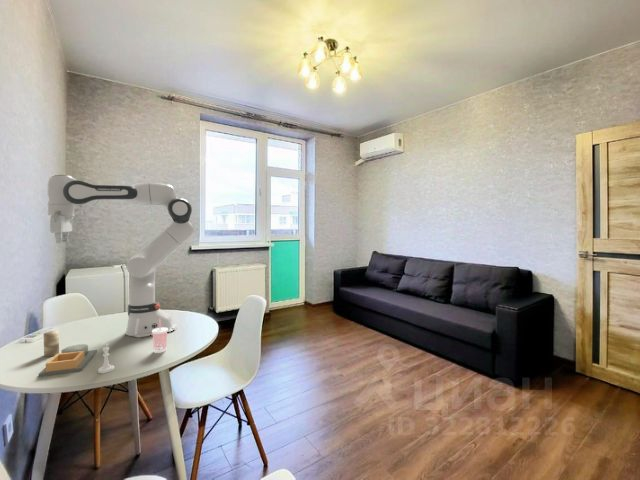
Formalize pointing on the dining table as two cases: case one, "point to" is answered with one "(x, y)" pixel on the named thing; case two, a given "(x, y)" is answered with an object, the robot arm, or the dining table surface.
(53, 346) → the wooden peg
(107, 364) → the chess piece
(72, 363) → the base
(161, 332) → the beverage cup
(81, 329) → the dining table surface
